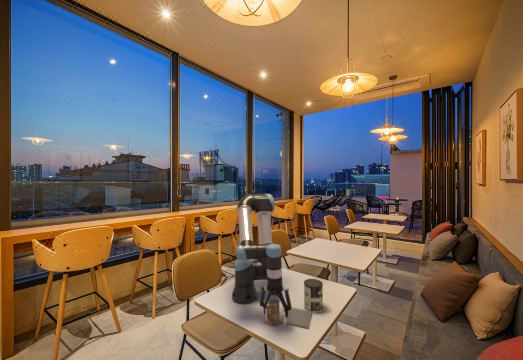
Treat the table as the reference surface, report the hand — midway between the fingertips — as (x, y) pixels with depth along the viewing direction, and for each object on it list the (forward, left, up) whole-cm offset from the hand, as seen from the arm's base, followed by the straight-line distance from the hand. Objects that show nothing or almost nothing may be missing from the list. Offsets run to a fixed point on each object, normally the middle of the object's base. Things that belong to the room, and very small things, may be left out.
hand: (276, 321), depth 115 cm
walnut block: (-1, 0, -1) cm, 1 cm away
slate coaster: (+9, +8, -1) cm, 12 cm away
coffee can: (+16, +21, -1) cm, 26 cm away
